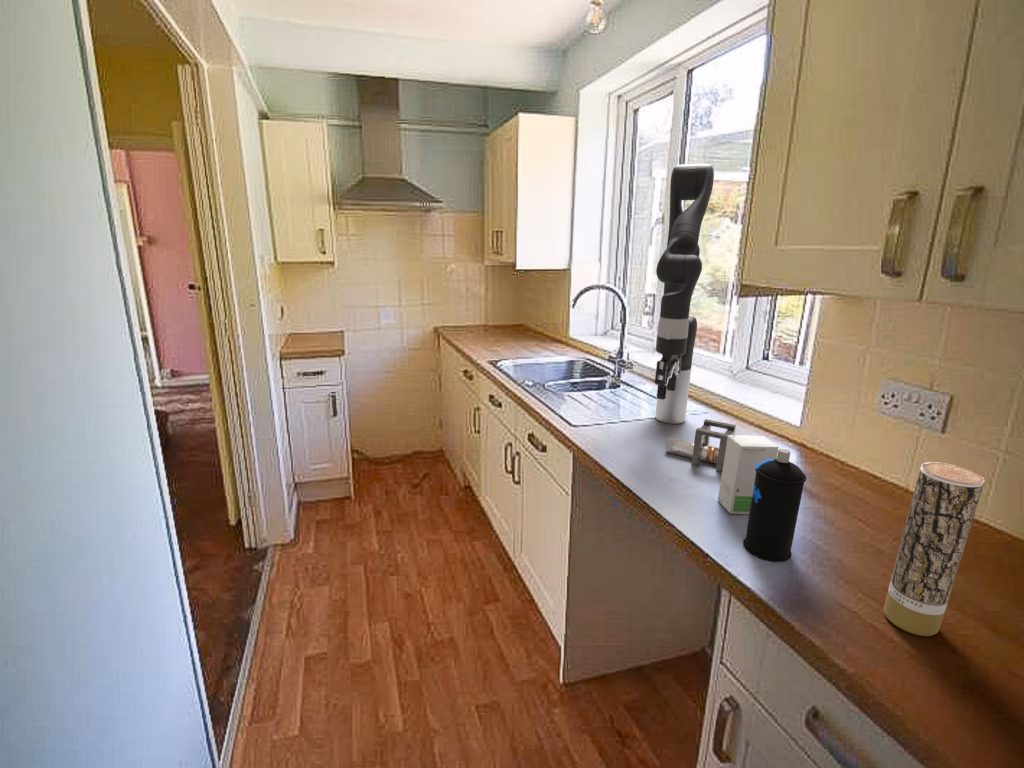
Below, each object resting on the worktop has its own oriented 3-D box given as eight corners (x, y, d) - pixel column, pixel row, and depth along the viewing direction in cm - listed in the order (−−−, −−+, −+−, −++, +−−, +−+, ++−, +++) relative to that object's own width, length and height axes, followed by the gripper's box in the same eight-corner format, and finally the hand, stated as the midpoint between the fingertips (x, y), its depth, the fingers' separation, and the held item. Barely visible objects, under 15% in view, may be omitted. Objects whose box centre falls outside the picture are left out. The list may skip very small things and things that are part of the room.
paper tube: (929, 646, 72) (976, 488, 65) (875, 618, 78) (913, 469, 71) (944, 626, 76) (991, 475, 69) (892, 600, 82) (930, 458, 75)
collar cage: (701, 452, 137) (705, 419, 135) (731, 459, 133) (736, 425, 130) (691, 464, 130) (695, 429, 127) (722, 472, 125) (727, 436, 123)
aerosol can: (797, 549, 95) (817, 451, 89) (782, 568, 89) (802, 464, 83) (752, 531, 100) (768, 438, 95) (735, 548, 95) (751, 450, 89)
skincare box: (729, 515, 106) (739, 446, 102) (716, 499, 113) (725, 434, 108) (768, 514, 107) (780, 446, 102) (753, 499, 113) (763, 434, 109)
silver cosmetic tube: (665, 454, 136) (665, 441, 135) (670, 447, 139) (670, 434, 138) (728, 469, 128) (729, 456, 126) (731, 461, 131) (733, 448, 129)
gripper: (666, 328, 138) (660, 385, 142) (648, 337, 126) (643, 399, 131) (694, 331, 134) (687, 390, 138) (679, 341, 122) (672, 404, 127)
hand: (666, 394), depth 135 cm, fingers open, 8 cm apart
